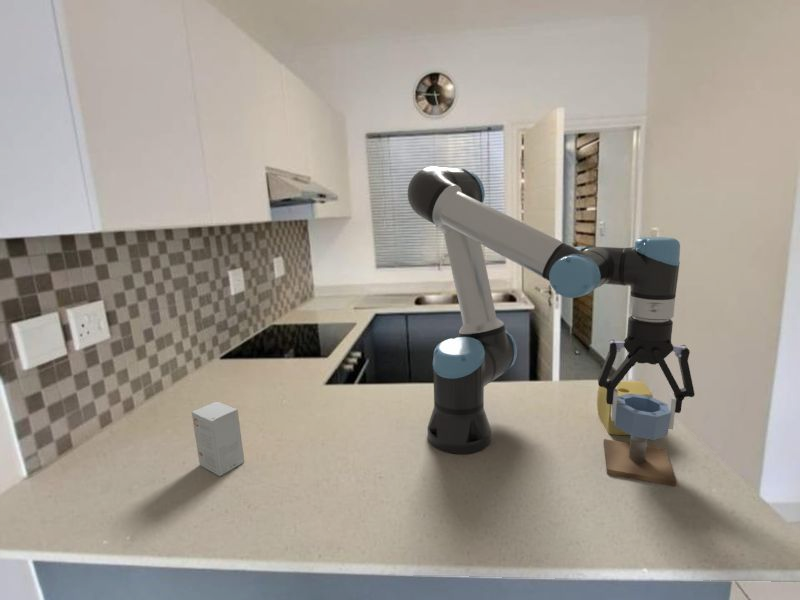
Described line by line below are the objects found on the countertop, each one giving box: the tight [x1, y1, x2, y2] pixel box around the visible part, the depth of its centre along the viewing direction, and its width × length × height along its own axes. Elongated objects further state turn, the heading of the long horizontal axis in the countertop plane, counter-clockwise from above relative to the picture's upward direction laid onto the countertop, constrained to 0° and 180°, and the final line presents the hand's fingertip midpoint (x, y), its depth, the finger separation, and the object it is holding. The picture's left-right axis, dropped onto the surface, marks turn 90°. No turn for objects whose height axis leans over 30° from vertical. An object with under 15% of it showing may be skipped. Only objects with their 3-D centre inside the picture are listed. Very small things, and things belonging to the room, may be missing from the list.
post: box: [603, 435, 677, 487], centre depth 88 cm, size 12×12×10 cm
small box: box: [191, 401, 245, 477], centre depth 93 cm, size 8×6×13 cm
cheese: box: [596, 380, 654, 436], centre depth 103 cm, size 10×11×10 cm
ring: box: [614, 393, 671, 441], centre depth 87 cm, size 9×9×5 cm
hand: (640, 421), depth 87 cm, fingers closed on ring, 9 cm apart
